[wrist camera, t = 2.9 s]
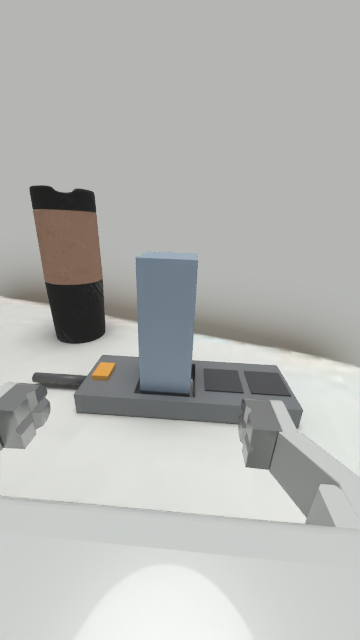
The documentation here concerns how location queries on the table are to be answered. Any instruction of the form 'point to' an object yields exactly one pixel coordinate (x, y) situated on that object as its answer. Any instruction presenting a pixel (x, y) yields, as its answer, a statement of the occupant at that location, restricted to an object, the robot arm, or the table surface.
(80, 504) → the robot arm
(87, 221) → the travel mug
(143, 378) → the blue rectangular block
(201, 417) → the power strip
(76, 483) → the table surface
